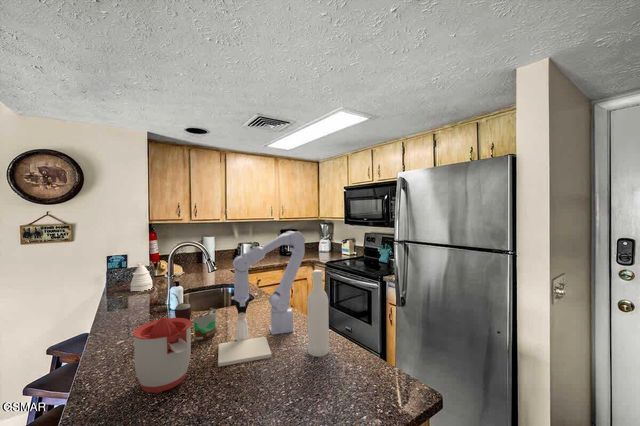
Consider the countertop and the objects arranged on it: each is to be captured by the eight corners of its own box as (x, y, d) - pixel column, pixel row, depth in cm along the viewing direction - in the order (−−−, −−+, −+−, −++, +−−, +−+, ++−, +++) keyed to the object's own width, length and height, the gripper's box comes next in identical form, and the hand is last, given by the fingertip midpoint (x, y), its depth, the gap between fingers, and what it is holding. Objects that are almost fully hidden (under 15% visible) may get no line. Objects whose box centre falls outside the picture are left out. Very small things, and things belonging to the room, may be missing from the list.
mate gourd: (191, 317, 141) (191, 287, 141) (189, 323, 133) (189, 291, 133) (175, 319, 138) (174, 288, 138) (172, 325, 131) (171, 293, 131)
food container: (207, 343, 112) (206, 318, 112) (193, 342, 113) (192, 317, 113) (223, 331, 124) (223, 308, 124) (210, 330, 125) (210, 307, 125)
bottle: (304, 354, 102) (303, 272, 102) (312, 345, 109) (311, 268, 109) (324, 358, 99) (323, 273, 99) (332, 348, 106) (331, 269, 106)
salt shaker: (236, 344, 112) (236, 319, 109) (234, 335, 116) (233, 312, 114) (250, 340, 114) (250, 316, 112) (247, 332, 119) (246, 309, 116)
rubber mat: (265, 339, 115) (265, 336, 115) (271, 357, 101) (271, 353, 101) (218, 346, 109) (218, 343, 109) (218, 366, 95) (218, 363, 95)
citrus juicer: (154, 408, 75) (153, 333, 75) (123, 387, 84) (122, 320, 84) (206, 378, 88) (205, 314, 88) (174, 363, 97) (173, 305, 97)
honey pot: (125, 291, 190) (125, 264, 190) (140, 286, 203) (140, 261, 203) (142, 292, 188) (142, 265, 188) (156, 287, 201) (156, 261, 201)
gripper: (230, 282, 122) (231, 313, 122) (231, 291, 108) (232, 326, 108) (247, 281, 124) (248, 311, 124) (250, 289, 110) (251, 324, 110)
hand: (241, 318), depth 116 cm, fingers closed
